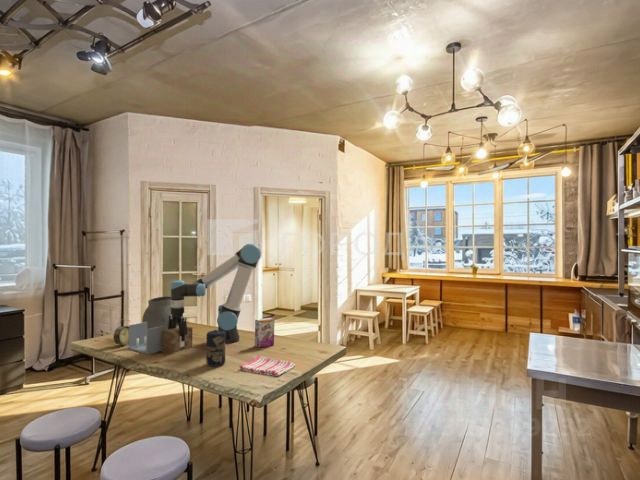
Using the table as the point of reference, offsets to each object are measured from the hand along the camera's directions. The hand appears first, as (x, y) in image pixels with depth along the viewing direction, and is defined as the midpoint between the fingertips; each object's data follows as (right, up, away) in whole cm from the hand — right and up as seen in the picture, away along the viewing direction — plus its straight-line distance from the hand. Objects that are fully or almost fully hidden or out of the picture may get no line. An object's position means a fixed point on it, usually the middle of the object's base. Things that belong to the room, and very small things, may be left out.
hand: (177, 345), depth 218 cm
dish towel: (+58, -3, -32) cm, 66 cm away
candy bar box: (+50, -3, +8) cm, 51 cm away
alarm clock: (-36, -2, +7) cm, 37 cm away
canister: (+30, -3, -27) cm, 41 cm away
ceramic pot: (-24, -3, +35) cm, 42 cm away
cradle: (-18, -2, 0) cm, 18 cm away
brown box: (0, -2, 0) cm, 2 cm away
